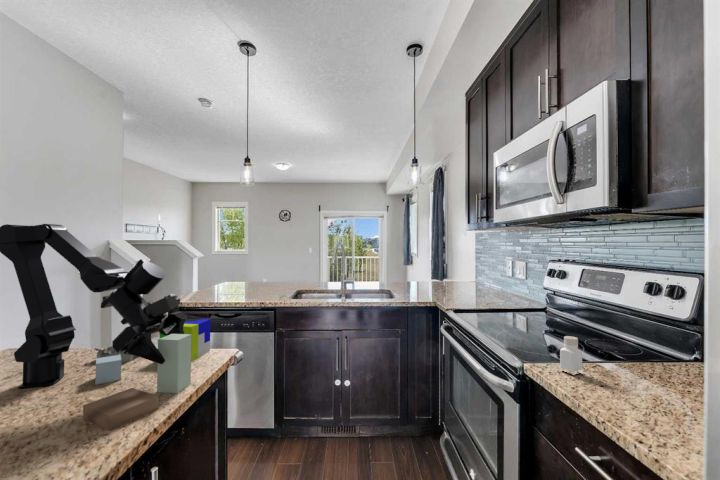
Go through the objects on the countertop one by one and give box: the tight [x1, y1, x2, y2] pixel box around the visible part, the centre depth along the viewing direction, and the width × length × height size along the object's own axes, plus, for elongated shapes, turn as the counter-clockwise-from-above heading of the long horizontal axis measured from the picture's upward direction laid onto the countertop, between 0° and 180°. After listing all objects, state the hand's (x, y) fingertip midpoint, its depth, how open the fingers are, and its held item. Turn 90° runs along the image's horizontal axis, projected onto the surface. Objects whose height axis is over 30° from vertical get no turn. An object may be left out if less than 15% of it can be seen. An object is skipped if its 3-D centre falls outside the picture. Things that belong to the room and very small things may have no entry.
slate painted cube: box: [94, 355, 122, 385], centre depth 84 cm, size 5×5×5 cm
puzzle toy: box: [159, 318, 212, 362], centre depth 103 cm, size 10×10×10 cm
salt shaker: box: [559, 335, 583, 372], centre depth 91 cm, size 4×4×10 cm
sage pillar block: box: [156, 334, 192, 394], centre depth 79 cm, size 5×5×12 cm
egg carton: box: [94, 345, 139, 363], centre depth 100 cm, size 11×8×4 cm
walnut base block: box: [82, 387, 159, 431], centre depth 67 cm, size 9×9×3 cm
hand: (176, 355), depth 79 cm, fingers open, 9 cm apart
